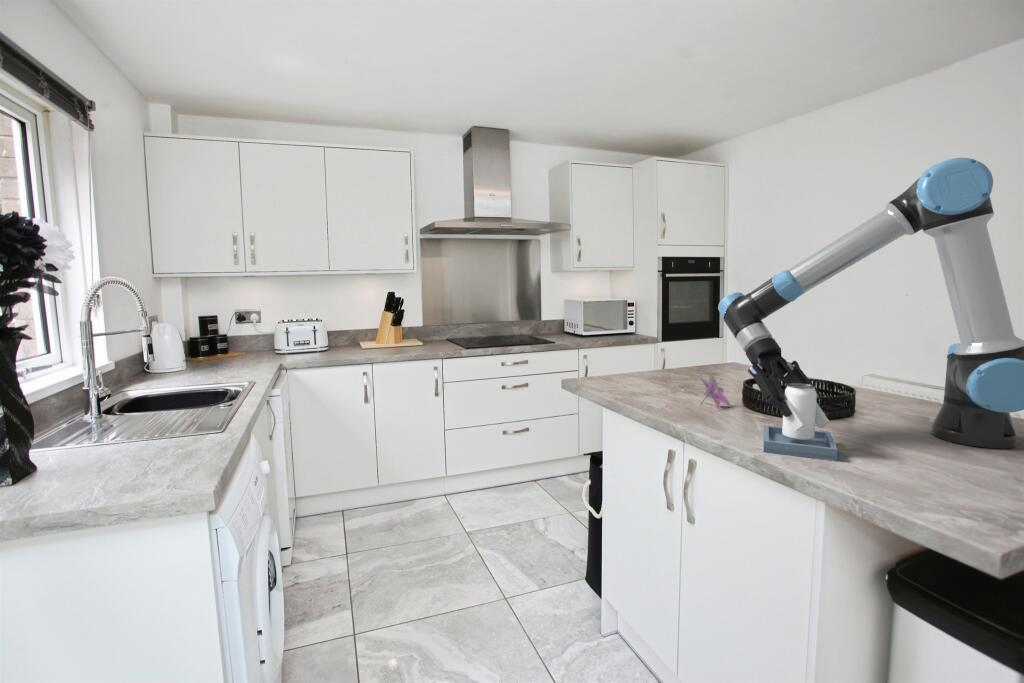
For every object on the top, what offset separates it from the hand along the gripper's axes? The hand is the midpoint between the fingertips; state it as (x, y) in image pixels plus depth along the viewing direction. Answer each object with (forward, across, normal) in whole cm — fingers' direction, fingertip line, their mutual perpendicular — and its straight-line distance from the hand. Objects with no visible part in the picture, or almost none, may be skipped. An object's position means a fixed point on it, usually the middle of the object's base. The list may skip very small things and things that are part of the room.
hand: (812, 426), depth 113 cm
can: (0, 0, -5) cm, 5 cm away
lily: (-25, -8, -34) cm, 42 cm away
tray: (+2, 0, -7) cm, 7 cm away
